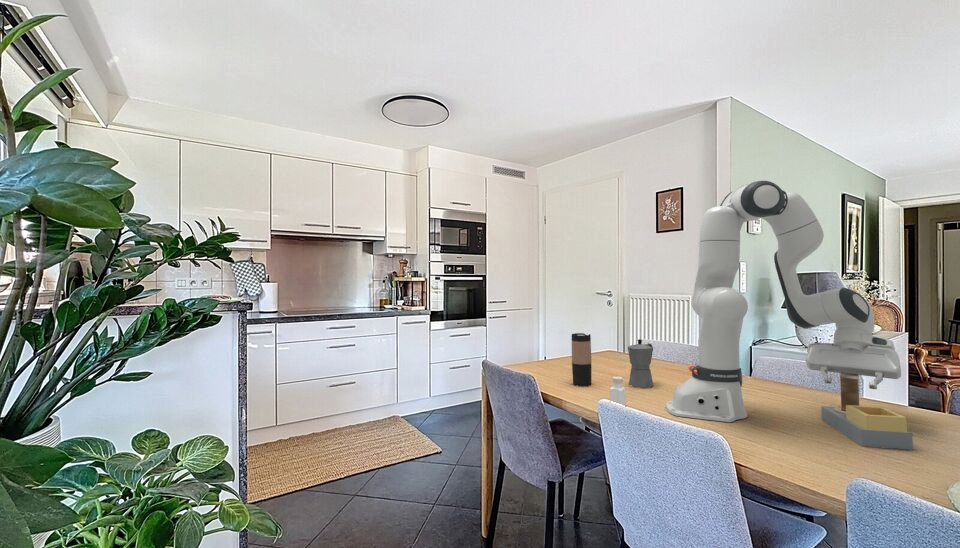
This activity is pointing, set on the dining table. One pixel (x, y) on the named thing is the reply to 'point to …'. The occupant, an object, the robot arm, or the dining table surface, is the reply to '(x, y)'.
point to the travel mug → (581, 359)
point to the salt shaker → (618, 391)
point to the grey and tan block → (870, 426)
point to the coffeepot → (640, 365)
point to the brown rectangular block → (849, 389)
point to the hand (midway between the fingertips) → (849, 385)
